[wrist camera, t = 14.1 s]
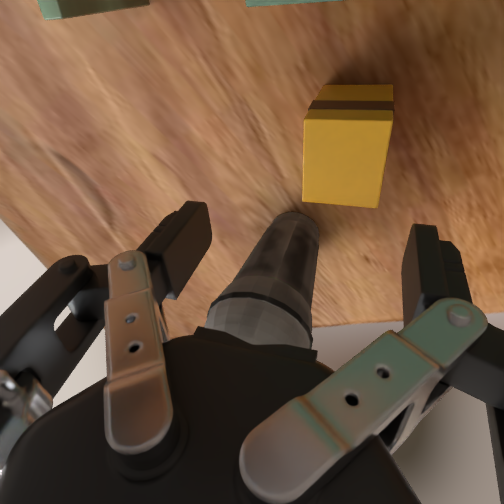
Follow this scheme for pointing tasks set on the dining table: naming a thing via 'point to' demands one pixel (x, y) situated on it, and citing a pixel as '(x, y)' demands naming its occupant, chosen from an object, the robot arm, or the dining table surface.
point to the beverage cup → (273, 287)
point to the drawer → (84, 7)
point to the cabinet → (280, 2)
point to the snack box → (347, 144)
